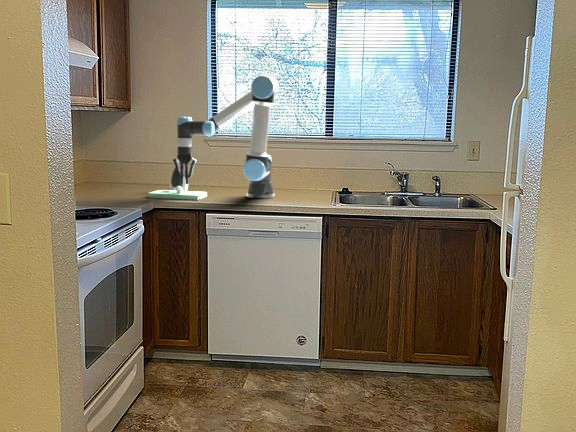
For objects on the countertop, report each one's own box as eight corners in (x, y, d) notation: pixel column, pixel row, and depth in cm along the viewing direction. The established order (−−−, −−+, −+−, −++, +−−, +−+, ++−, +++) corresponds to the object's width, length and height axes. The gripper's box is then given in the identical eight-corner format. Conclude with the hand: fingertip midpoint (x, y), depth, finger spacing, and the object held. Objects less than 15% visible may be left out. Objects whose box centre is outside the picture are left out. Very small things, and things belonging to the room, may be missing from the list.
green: (206, 196, 324) (206, 191, 324) (197, 200, 311) (197, 195, 310) (159, 194, 330) (159, 189, 329) (148, 197, 316) (148, 193, 316)
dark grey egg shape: (167, 193, 334) (166, 166, 331) (175, 190, 344) (174, 164, 341) (184, 194, 331) (183, 167, 329) (191, 191, 341) (191, 165, 339)
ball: (177, 192, 321) (183, 191, 321) (175, 193, 318) (181, 192, 317) (176, 186, 321) (182, 185, 320) (174, 187, 318) (180, 186, 317)
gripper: (198, 146, 317) (198, 189, 321) (175, 145, 319) (176, 188, 323) (193, 147, 309) (194, 191, 314) (170, 146, 312) (170, 190, 316)
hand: (185, 190), depth 318 cm, fingers closed
